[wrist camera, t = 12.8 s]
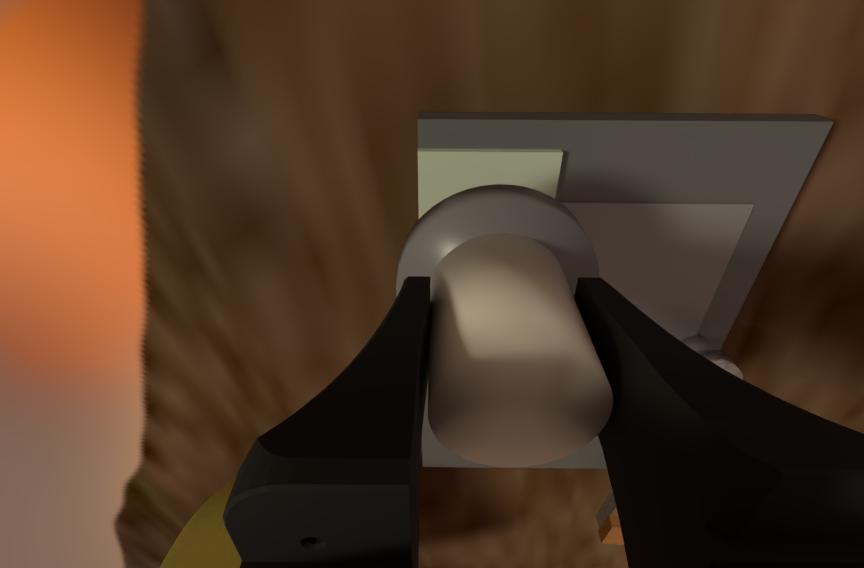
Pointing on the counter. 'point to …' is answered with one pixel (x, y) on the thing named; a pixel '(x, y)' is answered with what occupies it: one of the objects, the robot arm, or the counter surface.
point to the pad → (484, 171)
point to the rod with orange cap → (608, 511)
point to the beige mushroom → (507, 326)
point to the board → (656, 209)
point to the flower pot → (206, 538)
